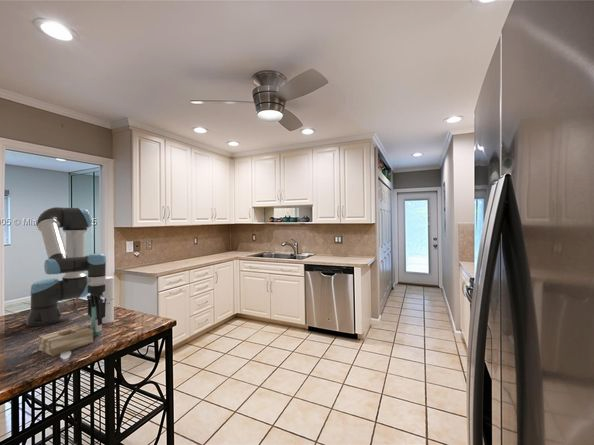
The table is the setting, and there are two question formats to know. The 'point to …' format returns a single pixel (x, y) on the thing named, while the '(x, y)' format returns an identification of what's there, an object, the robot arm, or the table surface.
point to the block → (65, 340)
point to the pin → (94, 322)
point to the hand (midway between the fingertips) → (96, 330)
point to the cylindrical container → (109, 300)
